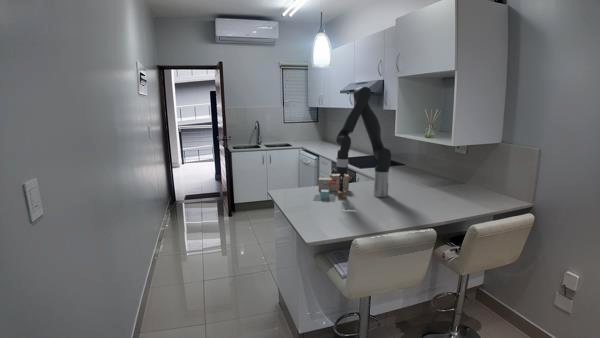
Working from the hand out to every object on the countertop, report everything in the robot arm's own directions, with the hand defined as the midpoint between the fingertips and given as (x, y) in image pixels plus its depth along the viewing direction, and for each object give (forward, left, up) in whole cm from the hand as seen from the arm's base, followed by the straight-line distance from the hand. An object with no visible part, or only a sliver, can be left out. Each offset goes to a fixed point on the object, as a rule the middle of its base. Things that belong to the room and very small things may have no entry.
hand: (341, 189), depth 216 cm
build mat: (+10, +3, -6) cm, 13 cm away
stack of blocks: (+6, -18, -7) cm, 20 cm away
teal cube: (+10, +3, -5) cm, 12 cm away
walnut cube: (-1, 0, -7) cm, 7 cm away
